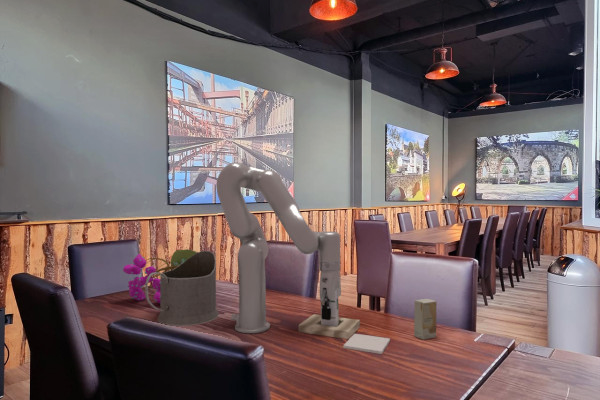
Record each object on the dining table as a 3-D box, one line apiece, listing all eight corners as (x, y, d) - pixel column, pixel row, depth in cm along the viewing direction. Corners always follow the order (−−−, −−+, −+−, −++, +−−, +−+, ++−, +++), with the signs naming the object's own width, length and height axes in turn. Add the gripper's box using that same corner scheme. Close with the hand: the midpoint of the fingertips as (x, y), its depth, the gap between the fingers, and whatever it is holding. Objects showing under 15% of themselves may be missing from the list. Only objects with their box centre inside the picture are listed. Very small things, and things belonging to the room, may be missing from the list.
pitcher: (230, 313, 161) (230, 252, 161) (168, 336, 134) (168, 263, 134) (189, 306, 173) (189, 248, 173) (125, 326, 145) (125, 258, 145)
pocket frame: (298, 331, 138) (298, 324, 138) (314, 320, 151) (314, 314, 151) (348, 339, 131) (348, 331, 131) (359, 326, 143) (359, 320, 143)
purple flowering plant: (206, 233, 193) (147, 251, 163) (223, 288, 193) (167, 317, 163) (166, 245, 209) (106, 264, 179) (182, 296, 208) (124, 324, 178)
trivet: (343, 347, 123) (343, 345, 123) (354, 335, 134) (354, 333, 134) (381, 354, 118) (381, 351, 118) (390, 341, 129) (390, 338, 129)
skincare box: (423, 340, 129) (423, 303, 129) (413, 336, 133) (413, 300, 133) (437, 337, 132) (437, 300, 132) (427, 333, 136) (427, 297, 136)
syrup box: (337, 332, 137) (337, 290, 137) (320, 331, 138) (320, 290, 138) (338, 327, 143) (338, 287, 143) (322, 326, 144) (322, 286, 144)
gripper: (331, 271, 131) (331, 325, 131) (347, 263, 147) (347, 311, 147) (310, 269, 134) (310, 322, 134) (328, 262, 150) (328, 309, 150)
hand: (329, 316), depth 141 cm, fingers closed on syrup box, 6 cm apart
